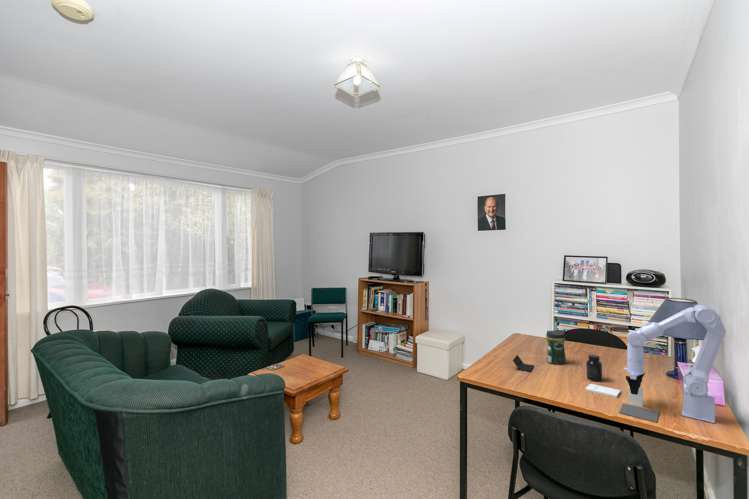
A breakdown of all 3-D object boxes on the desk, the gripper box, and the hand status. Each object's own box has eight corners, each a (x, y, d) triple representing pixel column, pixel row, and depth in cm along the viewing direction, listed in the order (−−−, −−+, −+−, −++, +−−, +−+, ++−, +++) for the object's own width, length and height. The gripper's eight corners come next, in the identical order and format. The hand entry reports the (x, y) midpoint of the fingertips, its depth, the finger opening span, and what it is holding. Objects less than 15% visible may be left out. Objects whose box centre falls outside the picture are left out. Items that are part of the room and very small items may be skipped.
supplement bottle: (592, 376, 184) (592, 353, 184) (605, 380, 178) (605, 356, 178) (583, 378, 182) (583, 354, 181) (595, 382, 175) (595, 358, 175)
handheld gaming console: (534, 370, 189) (522, 353, 193) (523, 377, 191) (511, 360, 195) (535, 366, 200) (523, 351, 203) (524, 373, 202) (512, 357, 205)
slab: (643, 404, 151) (643, 388, 151) (642, 406, 149) (642, 390, 149) (629, 401, 154) (628, 385, 154) (628, 403, 152) (628, 387, 152)
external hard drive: (616, 399, 158) (585, 391, 167) (621, 393, 164) (590, 386, 172) (616, 395, 158) (585, 387, 167) (620, 390, 164) (590, 382, 172)
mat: (658, 412, 144) (658, 411, 144) (656, 422, 136) (656, 421, 136) (623, 403, 152) (623, 403, 152) (619, 413, 144) (619, 412, 144)
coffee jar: (560, 360, 209) (560, 329, 209) (567, 364, 201) (567, 332, 201) (544, 360, 209) (544, 329, 209) (550, 365, 202) (550, 332, 201)
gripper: (626, 353, 159) (626, 383, 160) (621, 361, 149) (621, 394, 149) (646, 357, 155) (646, 387, 155) (642, 365, 144) (642, 398, 144)
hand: (635, 391), depth 152 cm, fingers open, 7 cm apart
